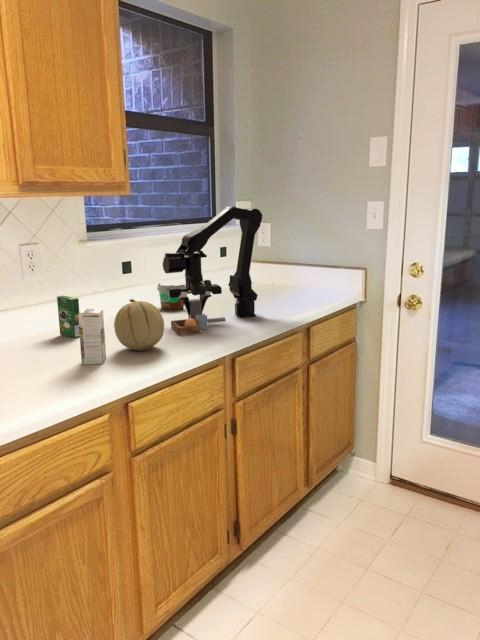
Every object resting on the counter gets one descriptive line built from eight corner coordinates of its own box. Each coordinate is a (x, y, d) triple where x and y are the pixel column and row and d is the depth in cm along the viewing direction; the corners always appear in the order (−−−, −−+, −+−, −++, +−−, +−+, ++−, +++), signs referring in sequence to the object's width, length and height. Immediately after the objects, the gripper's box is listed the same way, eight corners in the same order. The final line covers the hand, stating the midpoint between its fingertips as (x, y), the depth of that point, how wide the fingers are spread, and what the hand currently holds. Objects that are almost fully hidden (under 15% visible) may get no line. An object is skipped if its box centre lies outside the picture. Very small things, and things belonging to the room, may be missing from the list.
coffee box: (82, 336, 174) (79, 297, 171) (75, 338, 172) (71, 298, 169) (67, 333, 179) (63, 295, 176) (59, 335, 177) (55, 296, 174)
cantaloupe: (150, 358, 149) (147, 306, 146) (105, 354, 154) (101, 303, 151) (174, 344, 163) (172, 296, 159) (132, 341, 168) (129, 294, 164)
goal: (192, 325, 186) (192, 318, 186) (200, 333, 176) (200, 325, 175) (171, 327, 184) (170, 320, 183) (178, 335, 174) (178, 327, 173)
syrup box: (85, 359, 150) (81, 308, 147) (107, 358, 151) (103, 307, 147) (81, 365, 145) (76, 313, 141) (103, 364, 145) (99, 312, 142)
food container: (152, 310, 213) (150, 285, 211) (160, 307, 219) (158, 283, 216) (179, 312, 209) (178, 286, 206) (186, 308, 214) (185, 284, 212)
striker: (199, 320, 192) (198, 298, 191) (208, 328, 181) (208, 305, 179) (188, 321, 191) (187, 299, 189) (197, 329, 180) (196, 306, 178)
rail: (224, 319, 194) (224, 317, 194) (225, 320, 193) (225, 317, 193) (183, 323, 189) (183, 321, 189) (184, 324, 188) (184, 321, 188)
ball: (189, 314, 181) (181, 323, 181) (192, 317, 178) (183, 325, 177) (197, 322, 183) (188, 330, 182) (200, 325, 179) (191, 333, 179)
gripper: (171, 275, 175) (174, 321, 179) (225, 272, 181) (227, 316, 185) (165, 271, 186) (167, 315, 189) (216, 268, 191) (217, 310, 195)
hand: (195, 314), depth 189 cm, fingers closed on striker, 4 cm apart
